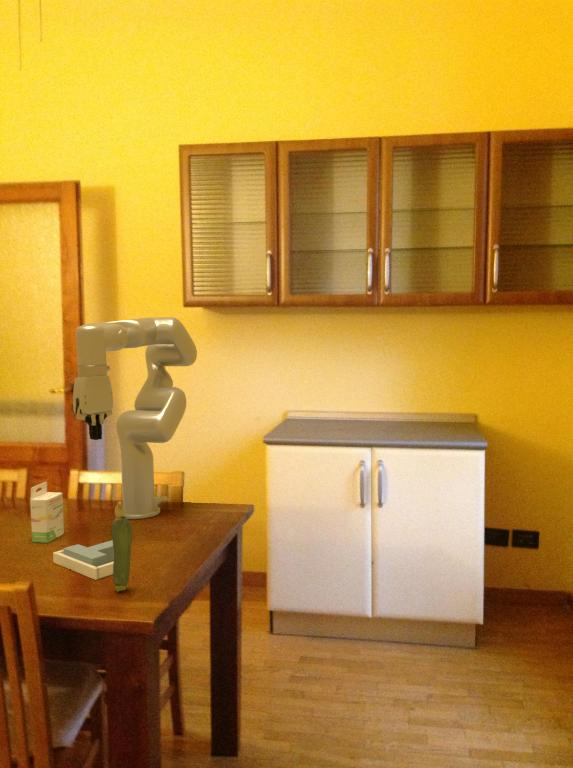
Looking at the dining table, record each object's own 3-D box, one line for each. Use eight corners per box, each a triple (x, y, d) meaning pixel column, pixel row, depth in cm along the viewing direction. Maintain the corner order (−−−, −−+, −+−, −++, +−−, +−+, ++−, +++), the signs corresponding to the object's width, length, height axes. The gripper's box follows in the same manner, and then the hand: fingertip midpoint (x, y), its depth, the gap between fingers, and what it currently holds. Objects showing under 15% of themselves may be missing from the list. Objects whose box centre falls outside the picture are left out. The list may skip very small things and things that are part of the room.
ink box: (48, 543, 183) (45, 488, 182) (31, 542, 184) (28, 488, 183) (65, 533, 192) (62, 481, 190) (48, 532, 193) (46, 480, 191)
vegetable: (115, 586, 152) (111, 497, 150) (135, 585, 152) (132, 496, 151) (111, 594, 148) (108, 502, 146) (132, 593, 148) (129, 501, 146)
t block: (106, 551, 176) (105, 536, 176) (135, 561, 168) (134, 545, 168) (64, 564, 167) (63, 548, 166) (92, 575, 159) (91, 558, 159)
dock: (79, 555, 173) (78, 545, 173) (121, 571, 162) (121, 560, 161) (53, 562, 168) (53, 552, 168) (95, 579, 156) (95, 569, 156)
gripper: (107, 368, 193) (110, 433, 195) (59, 373, 182) (63, 442, 184) (123, 369, 188) (127, 436, 190) (76, 374, 177) (80, 445, 179)
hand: (95, 439), depth 187 cm, fingers closed
